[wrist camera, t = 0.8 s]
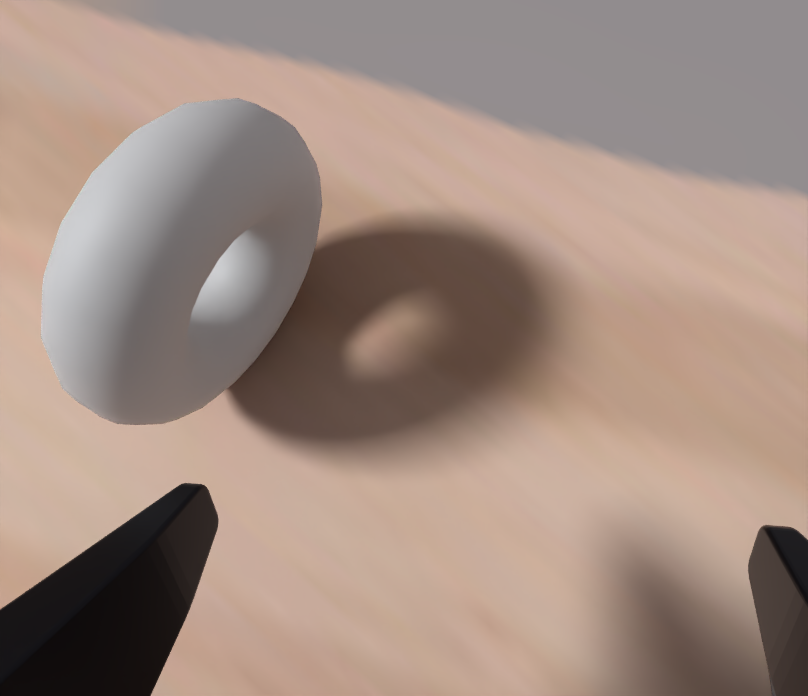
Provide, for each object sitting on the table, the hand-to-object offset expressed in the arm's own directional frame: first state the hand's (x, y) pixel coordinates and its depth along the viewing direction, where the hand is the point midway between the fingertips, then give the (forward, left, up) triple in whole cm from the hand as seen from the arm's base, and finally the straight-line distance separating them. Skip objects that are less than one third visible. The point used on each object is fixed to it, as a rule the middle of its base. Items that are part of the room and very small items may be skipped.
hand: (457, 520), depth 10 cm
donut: (+7, +7, -11) cm, 15 cm away
